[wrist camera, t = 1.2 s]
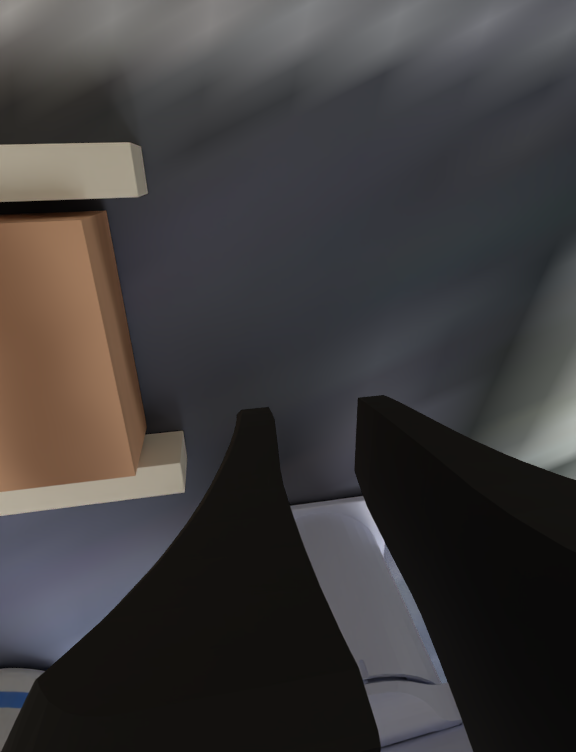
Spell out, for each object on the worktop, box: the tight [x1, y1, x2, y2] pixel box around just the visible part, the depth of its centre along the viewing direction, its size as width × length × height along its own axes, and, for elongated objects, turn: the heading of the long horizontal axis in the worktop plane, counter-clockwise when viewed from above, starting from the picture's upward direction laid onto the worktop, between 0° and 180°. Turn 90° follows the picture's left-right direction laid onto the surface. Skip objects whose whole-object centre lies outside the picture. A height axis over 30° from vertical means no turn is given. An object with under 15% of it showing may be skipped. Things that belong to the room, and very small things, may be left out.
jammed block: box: [0, 211, 147, 492], centre depth 16 cm, size 5×9×4 cm, turn 2°
